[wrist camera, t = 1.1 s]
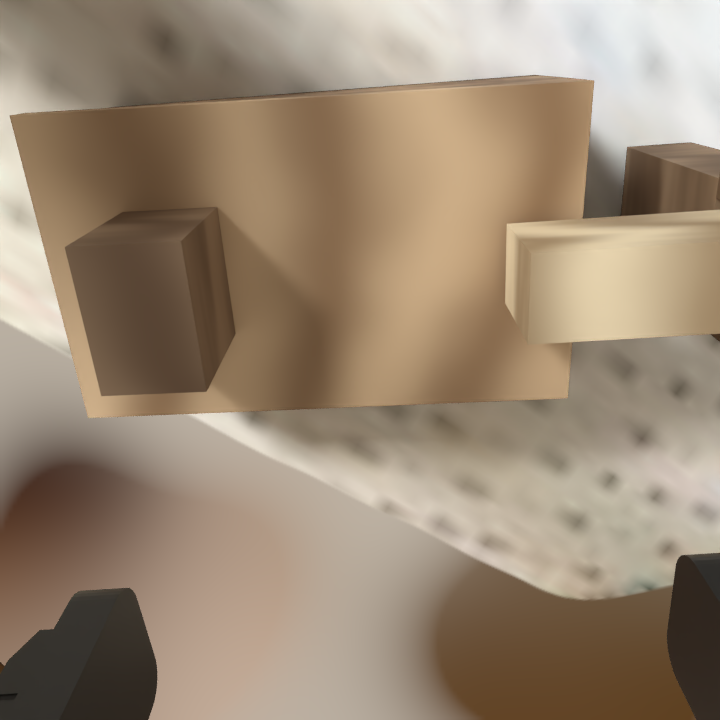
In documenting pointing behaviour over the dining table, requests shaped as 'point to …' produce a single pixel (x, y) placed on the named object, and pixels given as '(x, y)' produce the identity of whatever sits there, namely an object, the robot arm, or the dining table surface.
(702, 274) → the wooden key
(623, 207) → the brown wooden blocky piece
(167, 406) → the lid
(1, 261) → the dining table surface
